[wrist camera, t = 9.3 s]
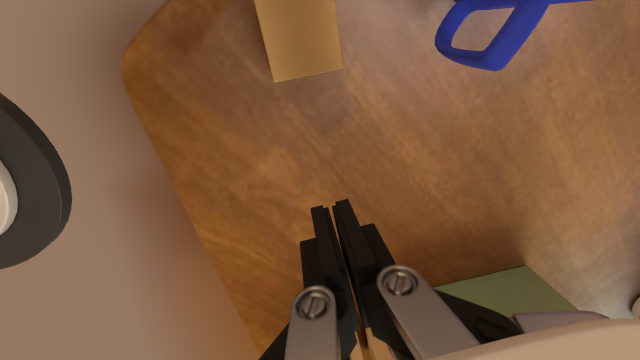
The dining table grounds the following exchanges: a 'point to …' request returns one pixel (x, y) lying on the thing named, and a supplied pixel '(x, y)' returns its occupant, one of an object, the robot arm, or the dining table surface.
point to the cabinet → (510, 292)
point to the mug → (506, 43)
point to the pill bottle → (636, 309)
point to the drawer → (372, 348)
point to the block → (300, 37)
